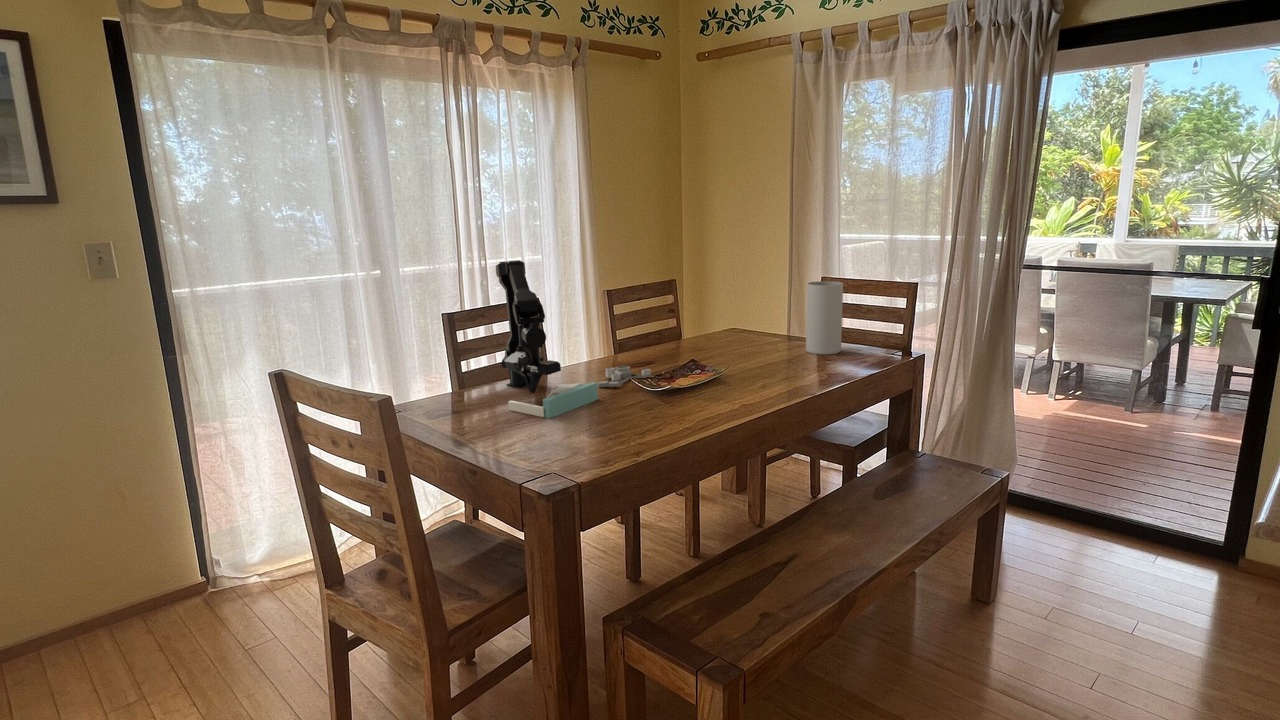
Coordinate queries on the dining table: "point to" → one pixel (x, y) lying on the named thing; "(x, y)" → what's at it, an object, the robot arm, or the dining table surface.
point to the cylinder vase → (824, 317)
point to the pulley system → (622, 376)
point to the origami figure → (564, 388)
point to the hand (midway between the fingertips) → (532, 392)
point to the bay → (559, 401)
